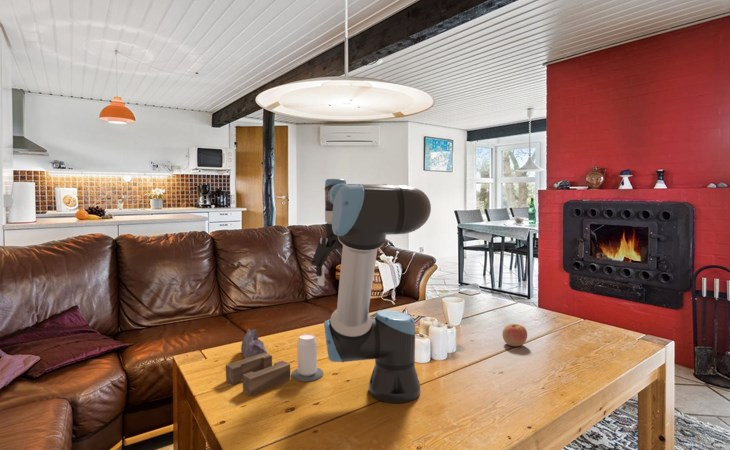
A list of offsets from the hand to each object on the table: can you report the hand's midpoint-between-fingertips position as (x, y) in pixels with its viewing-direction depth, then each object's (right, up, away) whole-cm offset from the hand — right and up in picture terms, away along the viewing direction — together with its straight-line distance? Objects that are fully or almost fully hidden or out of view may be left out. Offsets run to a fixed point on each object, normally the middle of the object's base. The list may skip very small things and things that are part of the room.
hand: (335, 282), depth 143 cm
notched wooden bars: (-23, -28, -18) cm, 40 cm away
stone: (-29, -27, 0) cm, 40 cm away
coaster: (-8, -28, -14) cm, 32 cm away
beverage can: (-8, -27, -14) cm, 32 cm away
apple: (+69, -27, +13) cm, 75 cm away
